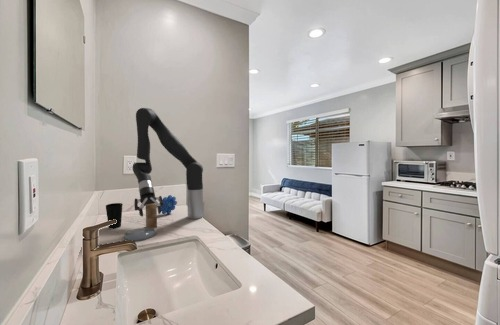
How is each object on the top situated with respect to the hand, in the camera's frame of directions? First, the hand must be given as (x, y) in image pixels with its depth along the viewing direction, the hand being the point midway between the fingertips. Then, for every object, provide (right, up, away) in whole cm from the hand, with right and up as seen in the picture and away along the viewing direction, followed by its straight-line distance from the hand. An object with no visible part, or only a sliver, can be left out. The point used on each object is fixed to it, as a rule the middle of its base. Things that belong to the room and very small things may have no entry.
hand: (151, 214), depth 119 cm
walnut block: (0, -7, 0) cm, 7 cm away
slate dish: (0, -7, -12) cm, 14 cm away
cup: (-19, -7, 0) cm, 21 cm away
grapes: (-1, -5, +26) cm, 26 cm away
